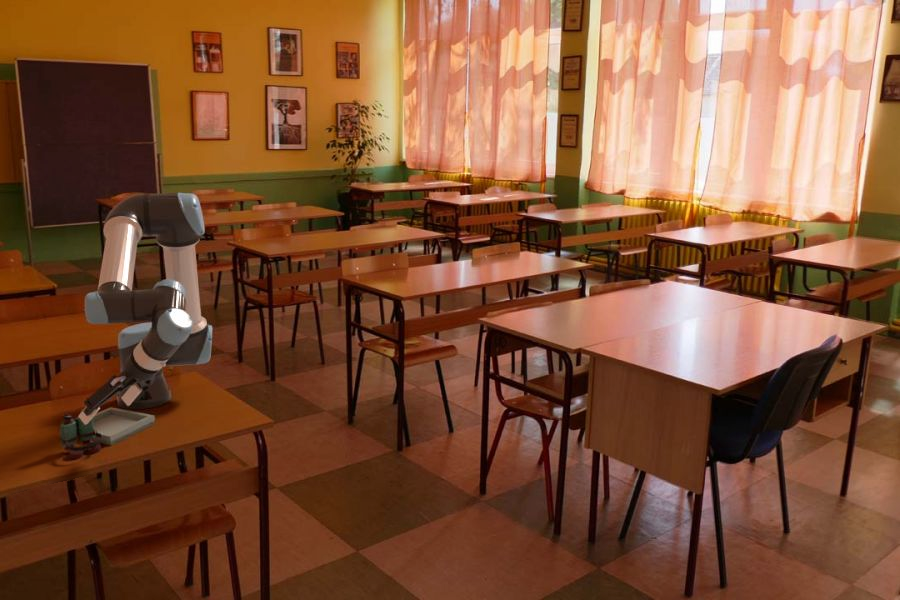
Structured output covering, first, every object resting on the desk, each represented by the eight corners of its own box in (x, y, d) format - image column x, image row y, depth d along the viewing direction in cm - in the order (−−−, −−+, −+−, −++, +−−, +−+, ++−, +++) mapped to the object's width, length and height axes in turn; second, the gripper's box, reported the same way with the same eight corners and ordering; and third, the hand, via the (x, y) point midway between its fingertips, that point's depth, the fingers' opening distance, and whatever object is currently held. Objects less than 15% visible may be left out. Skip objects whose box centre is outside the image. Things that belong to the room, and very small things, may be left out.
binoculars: (73, 427, 192) (53, 413, 198) (75, 466, 195) (56, 451, 201) (108, 417, 199) (88, 404, 204) (110, 454, 202) (90, 440, 208)
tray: (111, 415, 225) (110, 407, 225) (155, 423, 220) (154, 415, 219) (65, 435, 211) (64, 427, 210) (111, 445, 205) (110, 436, 205)
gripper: (116, 387, 173) (73, 440, 182) (192, 356, 196) (150, 405, 205) (96, 362, 174) (53, 416, 183) (174, 334, 197) (132, 383, 206)
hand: (104, 410), depth 194 cm, fingers open, 13 cm apart
